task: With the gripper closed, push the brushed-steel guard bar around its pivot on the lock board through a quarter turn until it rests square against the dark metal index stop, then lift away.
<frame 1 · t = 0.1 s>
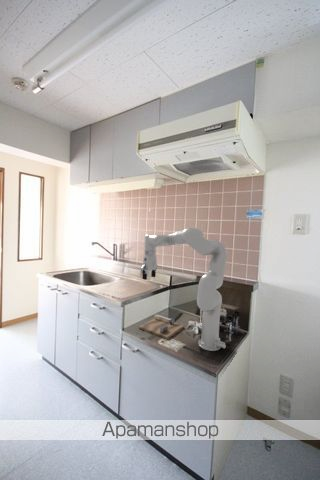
hand: (149, 278, 150), 31 cm above the worktop, tool pointing down, fingers open, 9 cm apart
guard bar: (164, 318, 152), point 3 cm above the worktop, hinge at 0.0°
coffee box: (206, 325, 152), on the worktop
lock board: (161, 328, 144), on the worktop
index stop: (163, 333, 137), on the worktop
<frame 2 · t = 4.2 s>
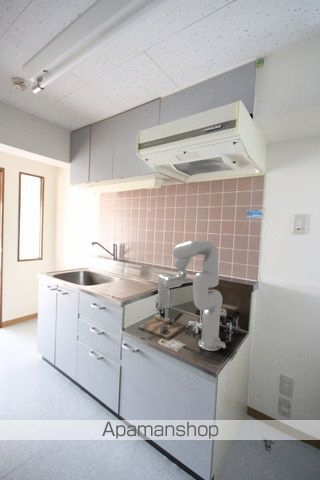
hand: (162, 317, 156), 2 cm above the worktop, tool pointing down, fingers closed
guard bar: (164, 318, 152), point 3 cm above the worktop, hinge at 0.0°, touching gripper
everything else where it was.
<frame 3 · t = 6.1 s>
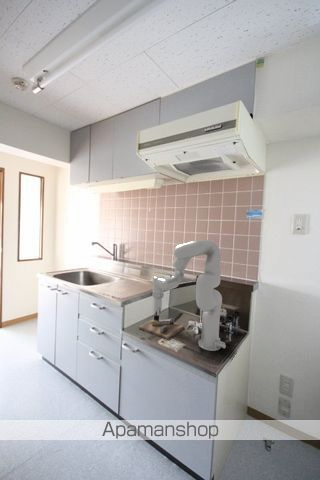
hand: (156, 321, 149), 3 cm above the worktop, tool pointing down, fingers closed
guard bar: (162, 321, 147), point 3 cm above the worktop, hinge at 48.8°, touching gripper
everything else where it was.
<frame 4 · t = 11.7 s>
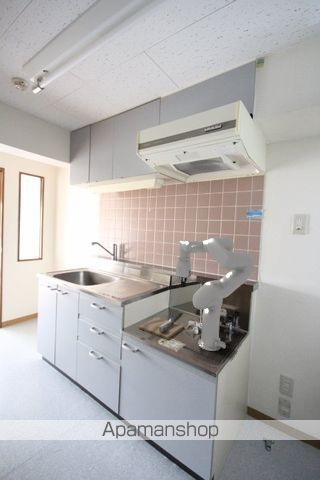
hand: (183, 286, 146), 27 cm above the worktop, tool pointing down, fingers closed
guard bar: (166, 324, 143), point 3 cm above the worktop, hinge at 91.3°
everything else where it was.
at the end: guard bar at +91° (first picture: +0°); the gripper is holding nothing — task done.
